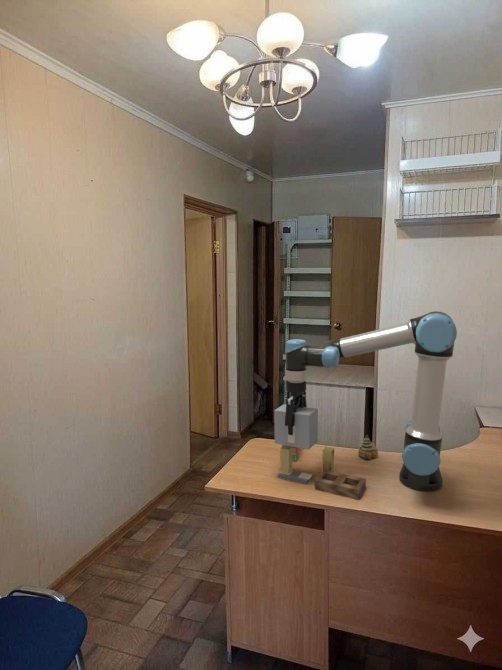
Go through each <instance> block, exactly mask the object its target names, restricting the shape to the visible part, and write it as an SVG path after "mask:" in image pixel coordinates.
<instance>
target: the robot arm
mask: <svg viewBox="0 0 502 670" xmlns="http://www.w3.org/2000/svg"><path fill="white" fill-rule="evenodd" d="M457 330H458V329H457V327H456V324H455V322H454V320H453V319H452V318H451V316H450V315H448V314H447V313H445V312H442V311H430V312H428V313H425V314H423V315H421V316H418V317H417V316H416V317H414V318H409V319H408V321H407V322H405V323H400V324H396V325H392V326H388V327H383V328H380V329H375V330H371V331H367V332H363V333H359V334H354V335H351V336H350V335H349V336H345V337H341V338H339V339H331V340H327V341H325V342H324V343H323V344H320V345H309V344H308V345H307V341H306V340H304V339H299V338H298V339H297V338H295V339H288V340H287V341H286V343H285V344H286V345H285V374H286V375H285V379H286V381H285V382H286V386H285V389H286V392H289V398H286V400H285V404H286V415H285V426H288V442H289V443H295V426H294V422H295V414H293V413H296V411H297V409H298V407H300V408H303V407H308V404H307V381H306V380H307V367H318V368H319V367H320V368H321V367H322V368H336V367H338V365H339V363H340V360H341V359H344V358H348V357H353V356H358V355H363V354H367V353H373V352H376V351H380V350H387V349H391V348H395V347H400V346H405V345H409V344H413V345H415V346H414V353H415V355H416V356H417V357H418V362H417V369H416V370H417V371H416V377H415V378H416V380H415V387H414V397H413V404H412V405H413V406H412V415H411V420H410V421H408V422H406V426H405V434H404V443H403V450H402V453H401V458H402V462H403V464H402V466H401V468H400V470H399V473H398V475H399V481H400V483H401V484H402V485H404V486H405V487H407V488H410V489H412V490H414V491H415V490H416V491H419V492H420V491H421V492H435V491H439V490H441V488H442V487H443V481H444V480H443V476H442V473H441V469H440V464H441V450H442V449H441V448H442V442H443V441H442V440H443V434H442V433H441V428H440V417H441V410H442V403H443V402H442V401H443V395H444V384H445V378H446V369H447V362H448V361H449V360H450V359H451V358H453V355H454V354H453V353H454V350H455V349H454V348H455V347H454V346H455V341H456V339H457V337H458V336H457V335H458V331H457Z"/></svg>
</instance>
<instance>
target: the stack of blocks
mask: <svg viewBox="0 0 502 670" xmlns="http://www.w3.org/2000/svg"><path fill="white" fill-rule="evenodd" d="M283 446H284V445H281V447H283ZM286 446H287V445H286ZM291 447H292V446H291ZM300 449H301V448H297V447H292V462H294V463H295V462H297V461H298V459H299V454H300Z"/></svg>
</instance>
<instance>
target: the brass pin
mask: <svg viewBox="0 0 502 670" xmlns="http://www.w3.org/2000/svg"><path fill="white" fill-rule="evenodd" d="M323 470H328V471H333V472H335V447H330V446H325V447H324V448H323V449H322V471H323Z"/></svg>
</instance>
